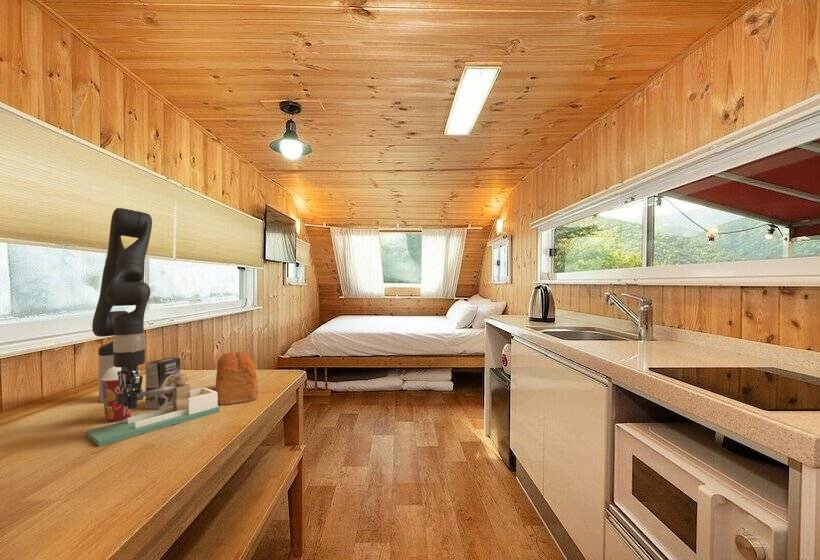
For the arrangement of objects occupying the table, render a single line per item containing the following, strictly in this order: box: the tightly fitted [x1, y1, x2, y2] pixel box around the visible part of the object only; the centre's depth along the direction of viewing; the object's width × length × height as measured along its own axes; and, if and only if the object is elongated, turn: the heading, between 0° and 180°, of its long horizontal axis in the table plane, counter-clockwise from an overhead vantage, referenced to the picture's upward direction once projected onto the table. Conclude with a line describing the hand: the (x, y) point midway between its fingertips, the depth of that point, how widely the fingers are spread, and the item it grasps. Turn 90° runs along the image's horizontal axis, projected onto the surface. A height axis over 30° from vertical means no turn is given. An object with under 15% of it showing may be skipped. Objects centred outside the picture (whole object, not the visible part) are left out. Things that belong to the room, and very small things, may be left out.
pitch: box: [85, 387, 220, 447], centre depth 116 cm, size 12×32×6 cm, turn 143°
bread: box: [215, 351, 259, 406], centre depth 145 cm, size 14×27×15 cm, turn 28°
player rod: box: [116, 373, 191, 412], centre depth 115 cm, size 4×19×12 cm, turn 143°
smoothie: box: [101, 366, 133, 423], centre depth 120 cm, size 8×8×20 cm
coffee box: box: [145, 357, 181, 410], centre depth 133 cm, size 9×6×16 cm
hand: (130, 406), depth 110 cm, fingers closed on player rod, 3 cm apart
